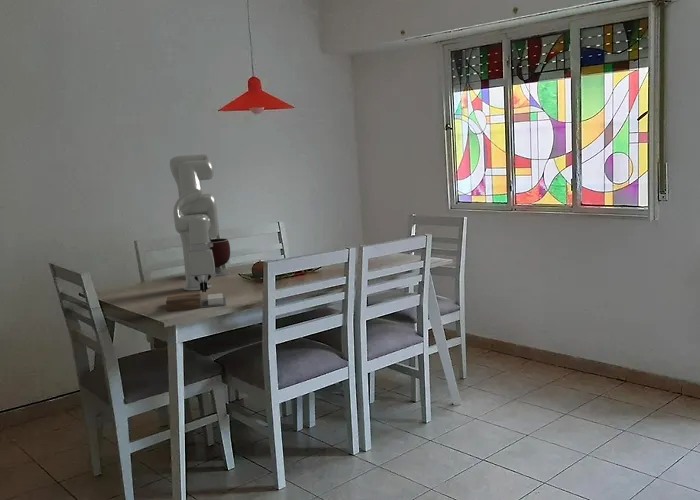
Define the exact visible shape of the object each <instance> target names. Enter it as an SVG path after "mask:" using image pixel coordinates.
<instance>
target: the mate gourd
mask: <svg viewBox="0 0 700 500" xmlns="http://www.w3.org/2000/svg"><path fill="white" fill-rule="evenodd" d="M209 243H211V244H212V243H213V247H210V249H212V252H213V257H214V264H215V273H216V276H215V277H221V276H226V275H227V276H228V275H230V274H231V270H226V269H225V270H223V269H222V266H224V265H225V264H227V263H228V262H229V260H230V258H231V246H230V245H231V244H230V241H229V239H228V238H220V237H219V238H210V239H209Z"/></svg>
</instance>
